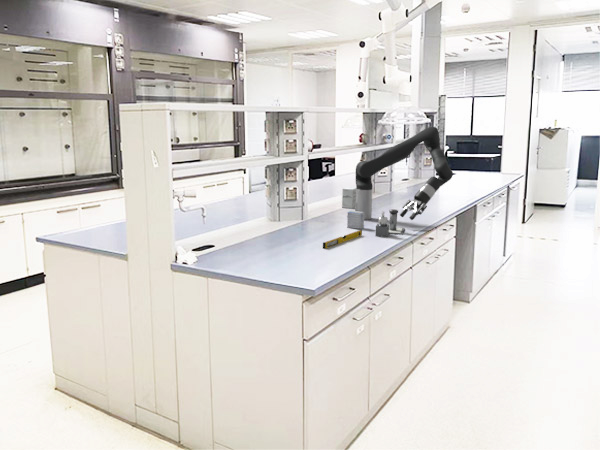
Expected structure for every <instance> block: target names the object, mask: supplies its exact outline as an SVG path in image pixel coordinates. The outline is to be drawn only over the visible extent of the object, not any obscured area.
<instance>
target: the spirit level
mask: <svg viewBox="0 0 600 450" xmlns="http://www.w3.org/2000/svg"><path fill="white" fill-rule="evenodd" d="M362 234H363V230H362V229H358V230H357V231H354V232H350V233H347V234H345V235H344V236H340V237H339V236H338V237H336V238H333V239H331V240H328V241H324V242H322V249H328V248H331V247H334V246H337V245H339V244H342V243H345V242H347V241H350V240H353V239H356V238H358V237H361V235H362ZM362 236H363V235H362Z"/></svg>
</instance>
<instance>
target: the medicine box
mask: <svg viewBox="0 0 600 450" xmlns="http://www.w3.org/2000/svg"><path fill="white" fill-rule="evenodd" d="M346 220H347V221H346V222H347V223H346V225H347V229H358V230H362V229H363V228H365V220H364V212H359V211H355V210H349V211H347V219H346Z"/></svg>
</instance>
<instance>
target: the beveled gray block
mask: <svg viewBox="0 0 600 450" xmlns="http://www.w3.org/2000/svg"><path fill="white" fill-rule="evenodd" d="M377 221H378V223H377V224H376V225H375V234H374V235H375V237H381V236H383V238H384V237H386V238H388V237H389V236H390V234H389V227H390V224H388V217H386V216H385V211H381V216H378V220H377Z"/></svg>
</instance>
